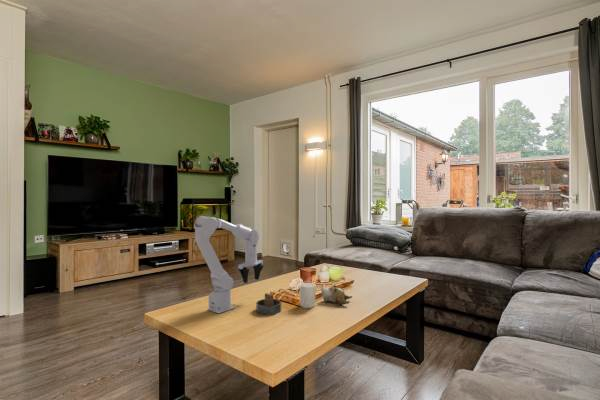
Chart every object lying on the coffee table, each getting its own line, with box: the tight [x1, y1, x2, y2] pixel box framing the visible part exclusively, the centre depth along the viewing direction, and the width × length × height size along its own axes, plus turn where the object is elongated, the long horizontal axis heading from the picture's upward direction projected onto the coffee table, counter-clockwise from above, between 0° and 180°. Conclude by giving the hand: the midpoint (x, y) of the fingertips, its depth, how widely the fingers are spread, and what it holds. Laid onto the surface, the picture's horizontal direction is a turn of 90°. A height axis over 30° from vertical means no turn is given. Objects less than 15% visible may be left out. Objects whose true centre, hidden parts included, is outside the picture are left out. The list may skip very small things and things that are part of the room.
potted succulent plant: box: [320, 284, 353, 305], centre depth 162 cm, size 11×9×15 cm
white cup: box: [298, 282, 317, 309], centre depth 157 cm, size 8×8×10 cm
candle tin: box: [255, 298, 282, 316], centre depth 151 cm, size 11×11×4 cm
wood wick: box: [264, 292, 274, 306], centre depth 151 cm, size 5×5×7 cm
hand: (251, 280), depth 164 cm, fingers open, 7 cm apart
